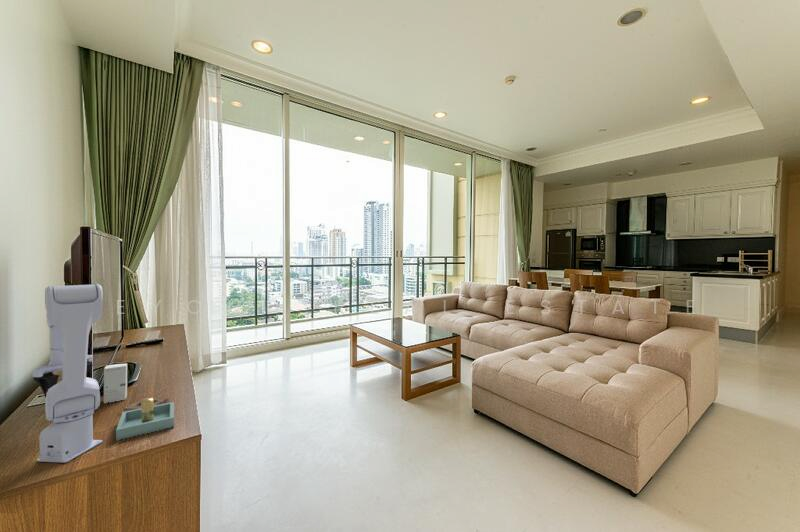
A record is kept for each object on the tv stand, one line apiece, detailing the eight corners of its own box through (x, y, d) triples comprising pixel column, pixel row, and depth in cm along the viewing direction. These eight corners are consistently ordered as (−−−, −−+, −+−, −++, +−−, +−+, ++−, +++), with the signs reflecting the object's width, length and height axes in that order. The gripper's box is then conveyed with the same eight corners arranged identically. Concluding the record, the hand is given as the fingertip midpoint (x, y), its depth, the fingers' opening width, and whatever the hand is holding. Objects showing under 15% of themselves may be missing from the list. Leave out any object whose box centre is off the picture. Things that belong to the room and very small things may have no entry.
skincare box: (103, 404, 115) (102, 368, 115) (105, 399, 119) (105, 365, 118) (126, 399, 118) (125, 365, 118) (128, 395, 122) (127, 362, 122)
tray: (173, 427, 99) (173, 417, 99) (116, 440, 91) (116, 430, 91) (174, 410, 109) (174, 401, 109) (122, 421, 102) (122, 411, 102)
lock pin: (147, 425, 99) (147, 401, 99) (138, 424, 99) (138, 401, 99) (156, 420, 102) (156, 397, 102) (147, 419, 102) (147, 397, 102)
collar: (148, 413, 108) (148, 408, 108) (123, 412, 108) (123, 408, 108) (168, 402, 116) (168, 398, 116) (145, 401, 117) (145, 397, 117)
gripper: (77, 340, 105) (78, 383, 105) (21, 353, 91) (22, 403, 91) (98, 341, 105) (99, 384, 105) (45, 354, 90) (46, 404, 90)
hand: (65, 393), depth 98 cm, fingers open, 7 cm apart
